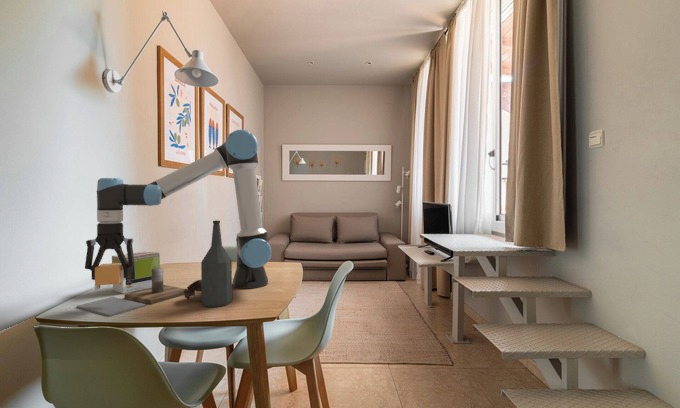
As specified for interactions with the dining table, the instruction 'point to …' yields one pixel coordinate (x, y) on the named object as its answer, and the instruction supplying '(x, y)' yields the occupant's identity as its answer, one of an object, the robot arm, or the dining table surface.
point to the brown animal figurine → (193, 289)
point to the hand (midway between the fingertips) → (110, 287)
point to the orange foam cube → (108, 274)
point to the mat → (111, 306)
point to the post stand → (156, 290)
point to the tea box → (138, 271)
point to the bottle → (216, 273)
